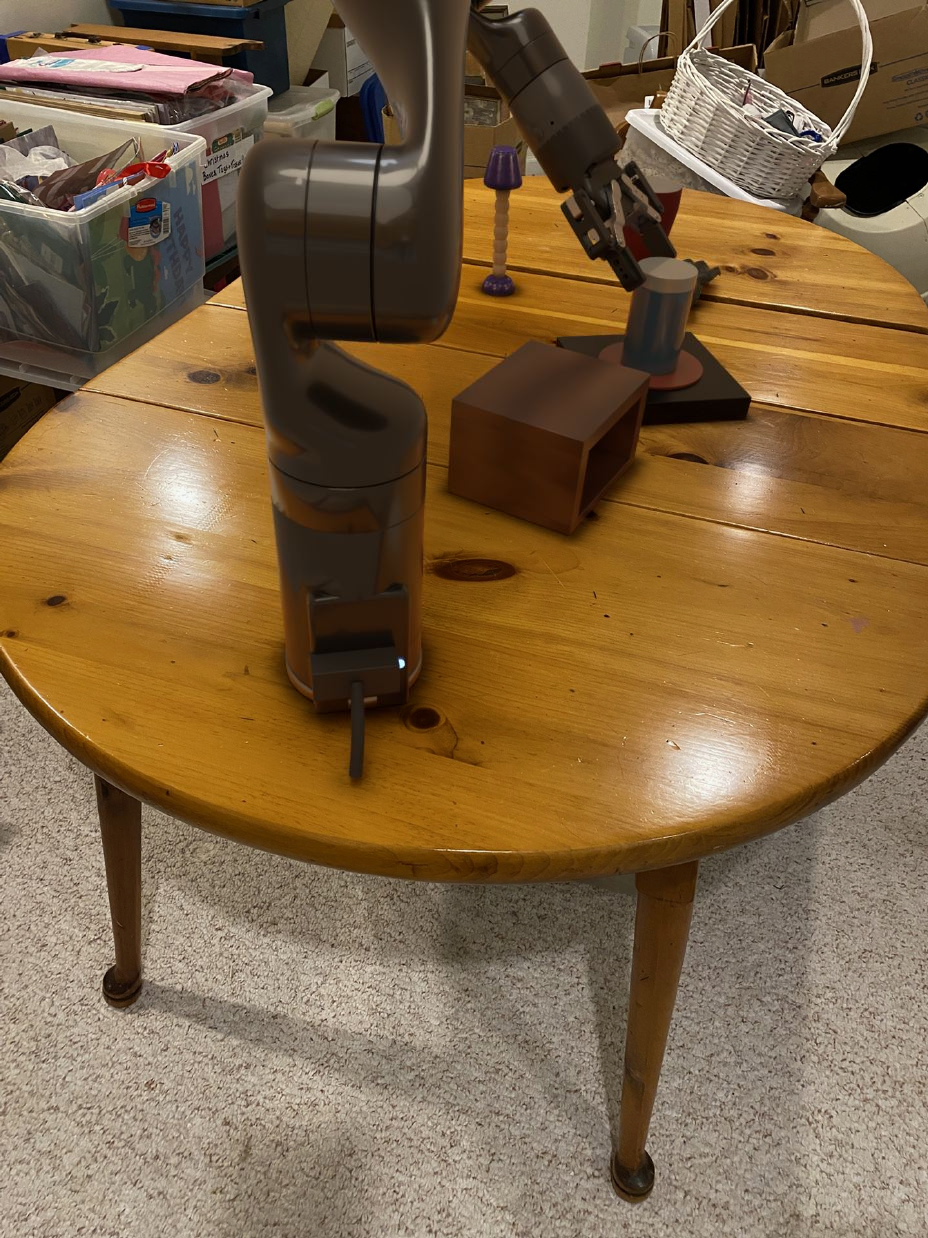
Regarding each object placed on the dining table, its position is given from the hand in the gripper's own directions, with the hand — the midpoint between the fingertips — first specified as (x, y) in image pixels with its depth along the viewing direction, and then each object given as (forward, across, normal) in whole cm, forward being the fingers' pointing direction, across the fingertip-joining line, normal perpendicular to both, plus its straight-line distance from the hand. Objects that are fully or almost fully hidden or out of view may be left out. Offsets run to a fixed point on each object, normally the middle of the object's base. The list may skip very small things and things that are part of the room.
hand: (654, 274), depth 92 cm
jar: (+7, 0, +6) cm, 9 cm away
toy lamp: (-9, +14, +26) cm, 31 cm away
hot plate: (+9, 0, +7) cm, 12 cm away
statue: (+6, +26, +11) cm, 29 cm away
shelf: (+9, -23, +8) cm, 26 cm away
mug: (-2, +36, +19) cm, 41 cm away
